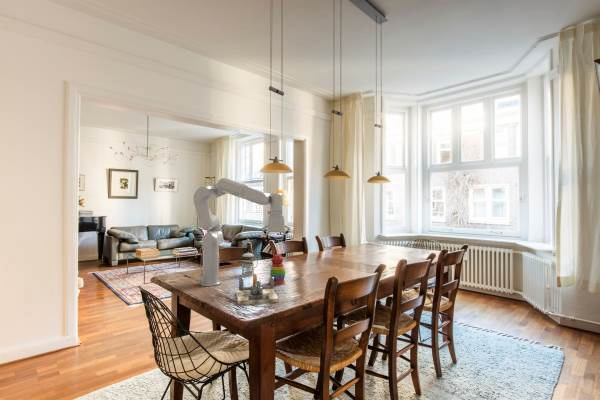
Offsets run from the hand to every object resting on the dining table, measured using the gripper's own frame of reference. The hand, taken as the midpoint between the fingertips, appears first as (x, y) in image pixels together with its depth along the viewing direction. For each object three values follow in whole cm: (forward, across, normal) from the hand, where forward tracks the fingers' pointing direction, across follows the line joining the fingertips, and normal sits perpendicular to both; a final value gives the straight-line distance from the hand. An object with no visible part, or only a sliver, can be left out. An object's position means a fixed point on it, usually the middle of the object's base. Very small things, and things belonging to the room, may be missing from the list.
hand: (275, 241), depth 193 cm
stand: (+26, -10, -24) cm, 37 cm away
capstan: (+24, -10, -24) cm, 36 cm away
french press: (+27, -17, +27) cm, 42 cm away
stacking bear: (+27, +1, +6) cm, 27 cm away
